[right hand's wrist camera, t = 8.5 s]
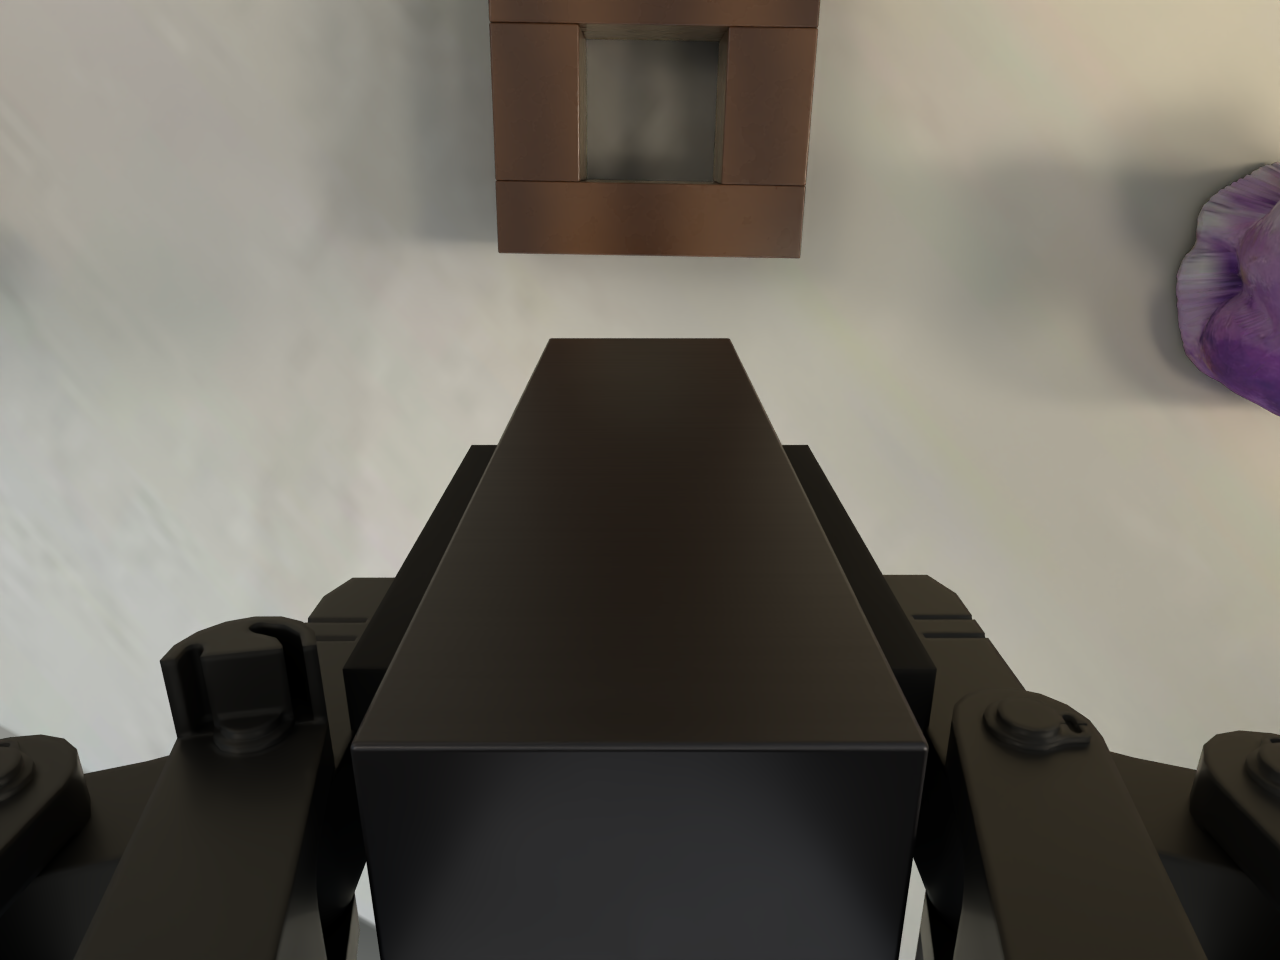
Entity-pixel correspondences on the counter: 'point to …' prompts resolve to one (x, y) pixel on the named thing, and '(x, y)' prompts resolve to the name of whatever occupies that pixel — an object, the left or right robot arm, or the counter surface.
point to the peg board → (652, 210)
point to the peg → (639, 695)
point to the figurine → (1236, 289)
